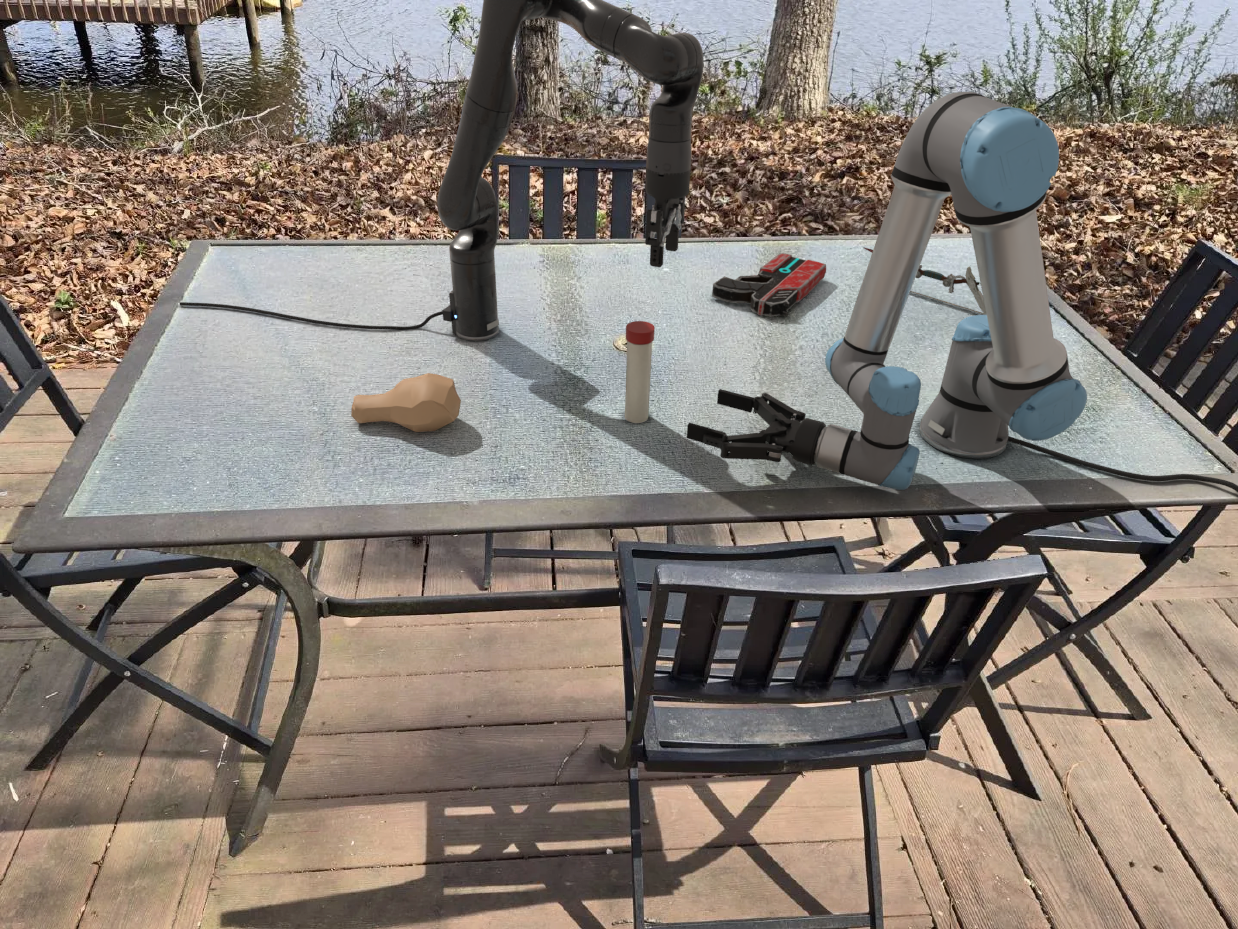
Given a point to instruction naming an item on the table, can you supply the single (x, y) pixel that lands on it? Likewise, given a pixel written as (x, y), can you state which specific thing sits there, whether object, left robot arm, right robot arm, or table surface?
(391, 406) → the squash
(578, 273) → the table surface
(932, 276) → the bow
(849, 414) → the table surface
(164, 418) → the table surface
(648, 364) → the slim white bottle
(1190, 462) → the table surface
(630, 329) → the lid
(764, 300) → the gun
